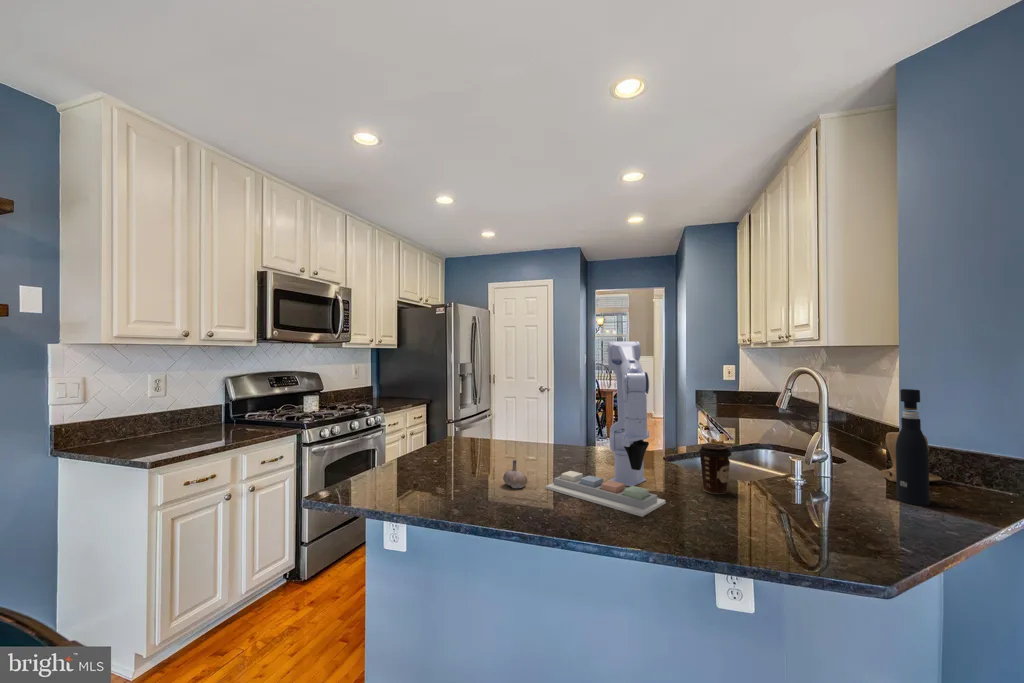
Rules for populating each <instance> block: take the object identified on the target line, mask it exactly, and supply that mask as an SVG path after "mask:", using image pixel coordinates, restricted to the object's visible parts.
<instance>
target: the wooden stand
mask: <svg viewBox="0 0 1024 683" xmlns="http://www.w3.org/2000/svg"><path fill="white" fill-rule="evenodd" d="M899 432H900V431H897V432H891V431H890V432H887V433H886V435H885V445H886V448H887V450H888V452H889V456H890V459H891V462H892V467H890V468H888V469H884V470H883V469H882V470H880V471H879V474H880V475H881V476H882V477H884V478H885V479H887V480H888V481H890V482H894V483H896V441H897V437H898V435H899ZM923 435H924V434H923ZM924 437H925V440H926V443H927V447H928V454H929V453H930V452H929V449H930V448H929V441H928V438H927V436H926V435H924ZM942 479H943V478H942V477H940V476H938V475H936V474H933V473H931V472H929V482H937V481H938V482H939V481H942Z"/></svg>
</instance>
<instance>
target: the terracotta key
mask: <svg viewBox="0 0 1024 683" xmlns="http://www.w3.org/2000/svg"><path fill="white" fill-rule="evenodd" d="M609 480H610V479H609ZM609 480H608V481H607V480H606V481H604V482H605V483H602V484H601V490H605V491H609V492H613V493H616V494H618V493H621V492H623V491H624V489H625V487H626V485H625V484H624V483H619V482H615V481H611V480H610V481H609Z"/></svg>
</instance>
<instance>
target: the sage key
mask: <svg viewBox="0 0 1024 683" xmlns="http://www.w3.org/2000/svg"><path fill="white" fill-rule="evenodd" d="M626 488H627V489H624V496H628V497H632V498H635V499H639V500H643V499H645V498H647V497H649V493H650V491H649V488H643V487H640V486H637V485H635V486H631V487H630V486H628V487H626Z"/></svg>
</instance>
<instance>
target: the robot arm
mask: <svg viewBox="0 0 1024 683" xmlns="http://www.w3.org/2000/svg"><path fill="white" fill-rule="evenodd" d="M607 343H608V344H607V360H608V361H607V363H608V368H609V369H611V370H612V371H614V375H615V378H616V400H617V404H616V405H617V421H615V422H614V423H613V424H611V426H610V428H609V449H610V451H611V452H612V453H613V454H614V457H613V458H614V461H613V462H614V477H613V478H611V479H608V481H610V480H611V481H615V482H619V483H624V484H625V487H631V486H638V485H639V484H641V483H644V482H646V481H647V478H644V472H645V471H644V470H645V469H644V457H645V454H646V451H647V450H648V447H649V443H650V442H649V441H644V440H647V439H649V438H650V431H649V430H648V413H647V412H648V411H647V410H648V409H647V408H648V407H647V406H648V405H647V404H648V399H647V397H648V396H647V395H648V394H649V392H650V391H649V390H650V378H649V374H648V371H643V368H642V365H641V363H640V359H641V352H642V351H641V343H640V342H639V341H638V340H636V341H612V340H609V341H608V342H607Z"/></svg>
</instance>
